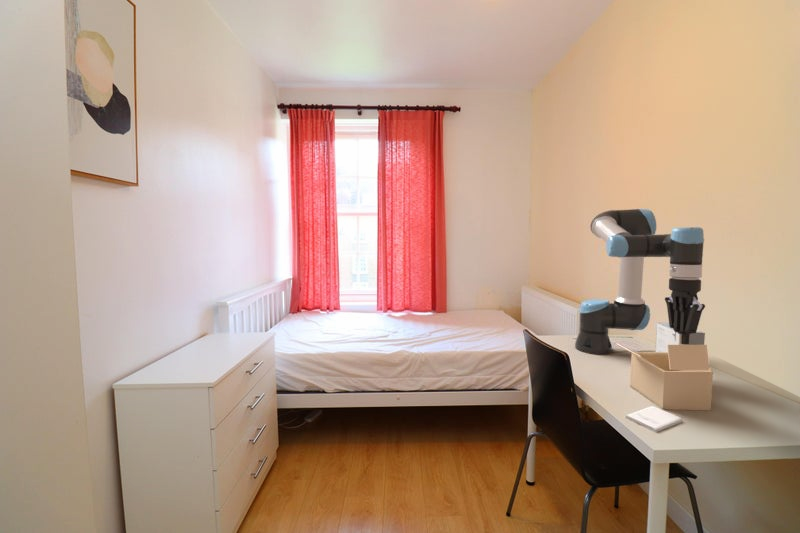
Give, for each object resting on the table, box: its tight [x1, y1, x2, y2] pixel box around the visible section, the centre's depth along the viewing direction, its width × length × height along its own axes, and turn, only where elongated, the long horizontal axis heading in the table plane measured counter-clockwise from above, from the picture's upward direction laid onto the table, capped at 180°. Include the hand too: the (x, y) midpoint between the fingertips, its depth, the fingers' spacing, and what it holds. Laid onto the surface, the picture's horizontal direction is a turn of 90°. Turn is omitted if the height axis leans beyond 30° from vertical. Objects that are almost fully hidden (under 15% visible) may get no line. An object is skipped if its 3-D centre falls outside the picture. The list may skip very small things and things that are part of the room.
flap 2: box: [667, 344, 711, 370], centre depth 101 cm, size 7×11×1 cm
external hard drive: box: [625, 405, 683, 433], centre depth 97 cm, size 2×8×12 cm
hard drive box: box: [655, 321, 706, 352], centre depth 123 cm, size 16×8×20 cm, turn 168°
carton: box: [629, 351, 714, 411], centre depth 110 cm, size 16×15×12 cm
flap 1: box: [615, 342, 659, 368], centre depth 110 cm, size 13×7×1 cm
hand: (681, 353), depth 104 cm, fingers closed
